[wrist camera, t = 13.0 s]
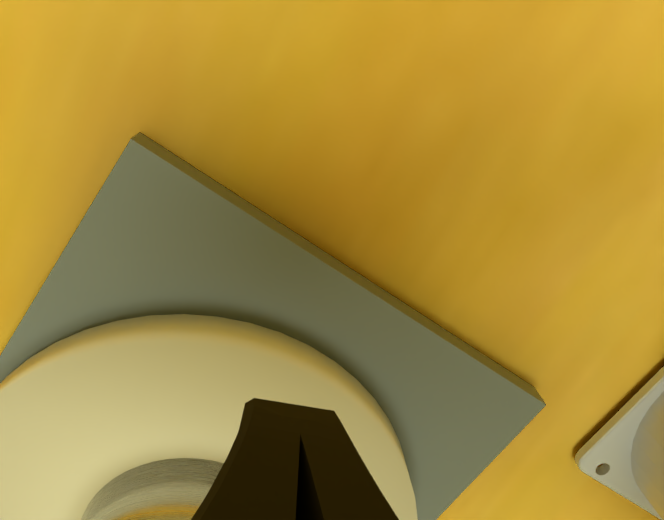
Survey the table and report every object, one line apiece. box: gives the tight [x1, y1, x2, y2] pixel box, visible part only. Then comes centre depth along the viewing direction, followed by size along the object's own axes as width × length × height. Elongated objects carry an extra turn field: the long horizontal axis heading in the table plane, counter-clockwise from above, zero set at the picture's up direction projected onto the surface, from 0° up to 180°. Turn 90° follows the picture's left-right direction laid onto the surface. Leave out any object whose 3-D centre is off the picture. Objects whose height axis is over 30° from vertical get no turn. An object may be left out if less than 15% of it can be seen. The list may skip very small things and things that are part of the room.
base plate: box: [0, 132, 546, 520], centre depth 20 cm, size 15×19×1 cm
